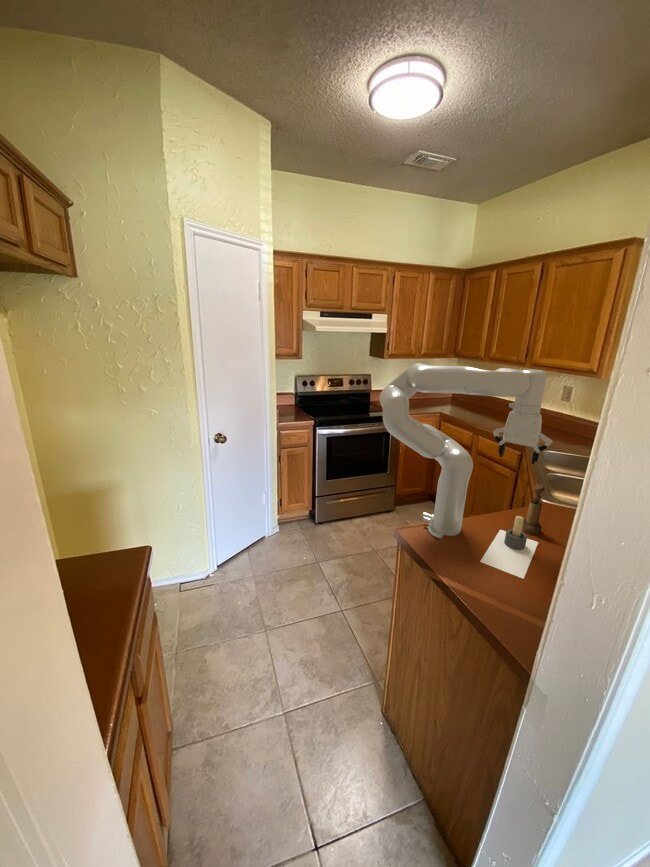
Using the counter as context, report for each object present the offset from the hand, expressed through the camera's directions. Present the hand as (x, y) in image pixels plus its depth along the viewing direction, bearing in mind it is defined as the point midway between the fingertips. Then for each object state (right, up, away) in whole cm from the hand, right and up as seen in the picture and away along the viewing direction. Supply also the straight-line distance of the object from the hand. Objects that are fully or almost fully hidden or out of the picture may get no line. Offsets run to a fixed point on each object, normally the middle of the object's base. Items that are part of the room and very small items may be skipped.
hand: (517, 459), depth 120 cm
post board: (-4, -31, -4) cm, 31 cm away
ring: (-1, -28, -1) cm, 28 cm away
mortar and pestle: (+11, -27, +12) cm, 31 cm away
